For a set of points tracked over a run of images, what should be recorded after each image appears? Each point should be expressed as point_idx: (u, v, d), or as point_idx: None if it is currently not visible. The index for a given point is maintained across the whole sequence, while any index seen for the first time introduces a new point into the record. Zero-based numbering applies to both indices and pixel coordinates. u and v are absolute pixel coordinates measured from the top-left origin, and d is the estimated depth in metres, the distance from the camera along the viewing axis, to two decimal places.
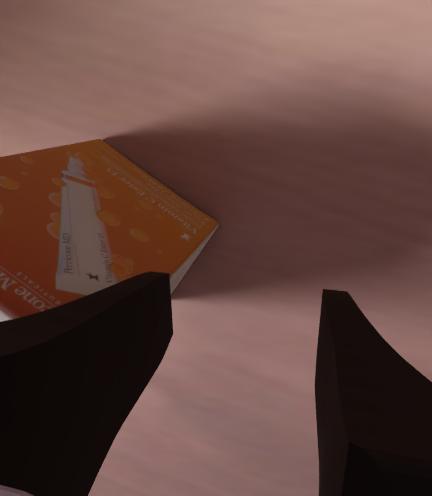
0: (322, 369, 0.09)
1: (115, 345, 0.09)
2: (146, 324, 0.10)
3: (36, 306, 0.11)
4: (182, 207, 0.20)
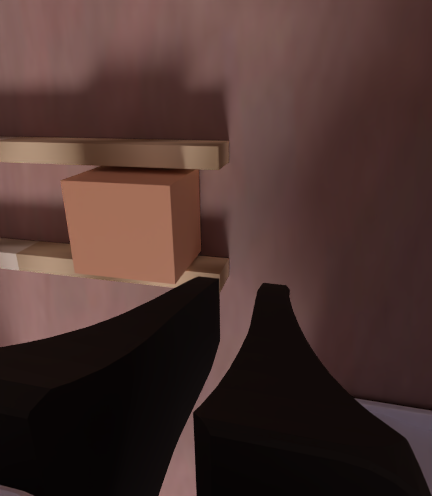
0: None
1: (177, 355, 0.09)
2: (201, 331, 0.10)
3: None
4: None
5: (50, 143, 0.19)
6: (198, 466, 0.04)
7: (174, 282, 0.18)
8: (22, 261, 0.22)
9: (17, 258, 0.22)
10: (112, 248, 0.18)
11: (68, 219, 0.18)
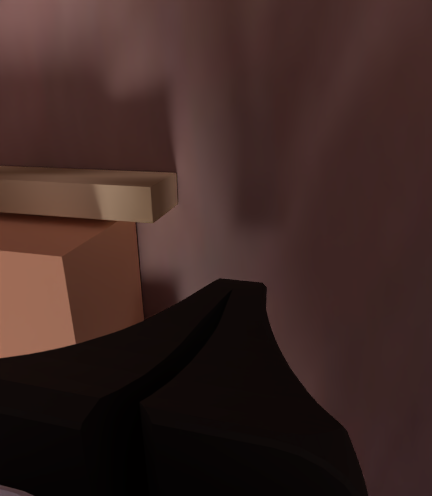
0: None
1: None
2: None
3: None
4: None
5: None
6: (146, 455, 0.05)
7: None
8: None
9: None
10: None
11: None
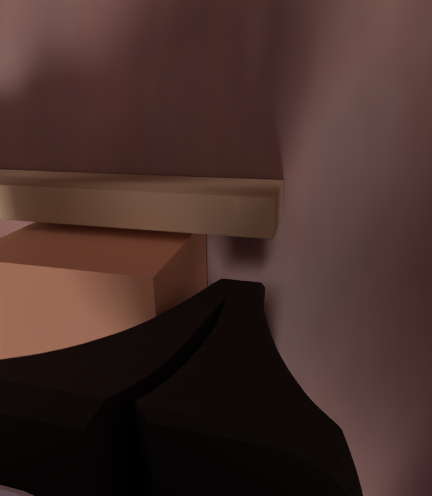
0: None
1: None
2: None
3: None
4: None
5: None
6: (141, 453, 0.05)
7: None
8: None
9: None
10: None
11: None
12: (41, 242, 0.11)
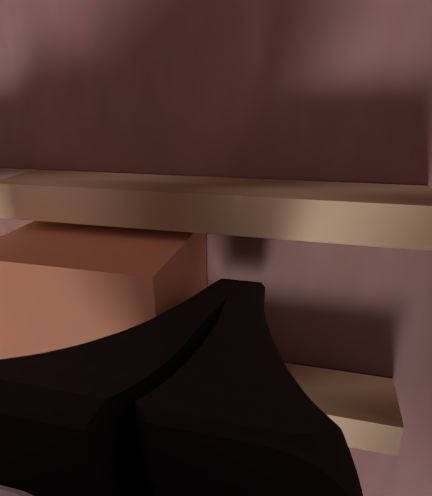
0: None
1: None
2: None
3: None
4: None
5: (95, 189, 0.10)
6: (142, 453, 0.05)
7: None
8: None
9: None
10: None
11: None
12: (41, 241, 0.11)
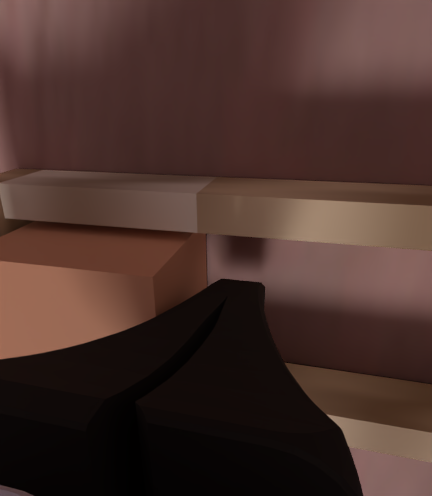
0: None
1: None
2: None
3: None
4: None
5: (337, 202, 0.09)
6: (141, 453, 0.05)
7: None
8: None
9: None
10: None
11: None
12: (41, 241, 0.11)
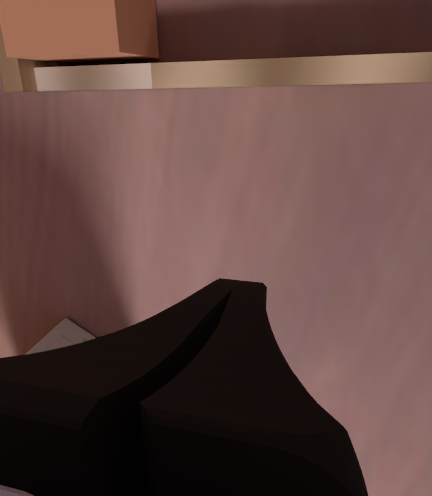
0: None
1: None
2: None
3: None
4: None
5: None
6: (147, 454, 0.05)
7: (118, 49, 0.15)
8: (158, 73, 0.17)
9: (152, 70, 0.17)
10: (46, 13, 0.15)
11: None
12: None
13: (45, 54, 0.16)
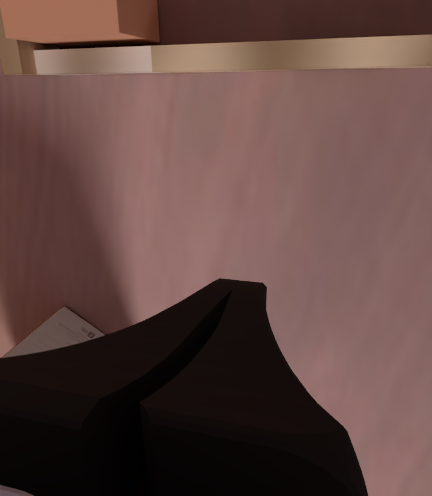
0: None
1: None
2: None
3: None
4: None
5: None
6: (147, 454, 0.05)
7: (118, 30, 0.15)
8: (158, 56, 0.17)
9: (152, 52, 0.17)
10: None
11: None
12: None
13: (44, 34, 0.16)
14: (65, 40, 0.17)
